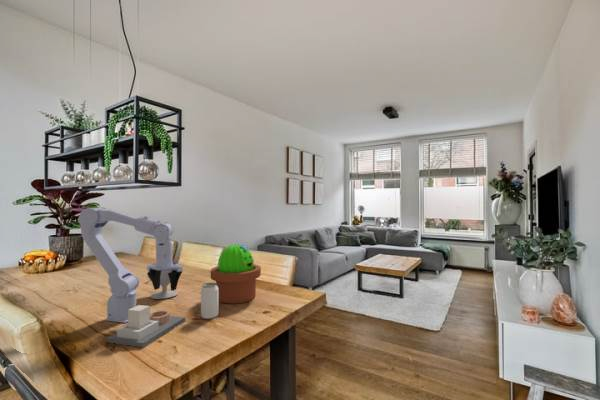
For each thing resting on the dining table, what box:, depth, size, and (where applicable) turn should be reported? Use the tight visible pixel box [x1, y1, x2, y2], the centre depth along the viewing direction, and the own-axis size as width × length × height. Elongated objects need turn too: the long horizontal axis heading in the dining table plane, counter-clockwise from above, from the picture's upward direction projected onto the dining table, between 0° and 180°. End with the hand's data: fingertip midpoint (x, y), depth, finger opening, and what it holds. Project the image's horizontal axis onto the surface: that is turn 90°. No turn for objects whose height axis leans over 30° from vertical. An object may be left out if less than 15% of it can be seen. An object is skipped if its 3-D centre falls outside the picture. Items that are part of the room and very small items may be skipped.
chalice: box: [147, 260, 180, 300], centre depth 137 cm, size 14×14×15 cm
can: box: [200, 282, 219, 320], centre depth 113 cm, size 6×6×12 cm
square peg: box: [127, 304, 151, 330], centre depth 96 cm, size 4×4×8 cm
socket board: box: [105, 309, 186, 348], centre depth 100 cm, size 14×20×4 cm
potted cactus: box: [210, 243, 262, 305], centre depth 134 cm, size 22×22×25 cm
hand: (165, 289), depth 112 cm, fingers open, 7 cm apart
